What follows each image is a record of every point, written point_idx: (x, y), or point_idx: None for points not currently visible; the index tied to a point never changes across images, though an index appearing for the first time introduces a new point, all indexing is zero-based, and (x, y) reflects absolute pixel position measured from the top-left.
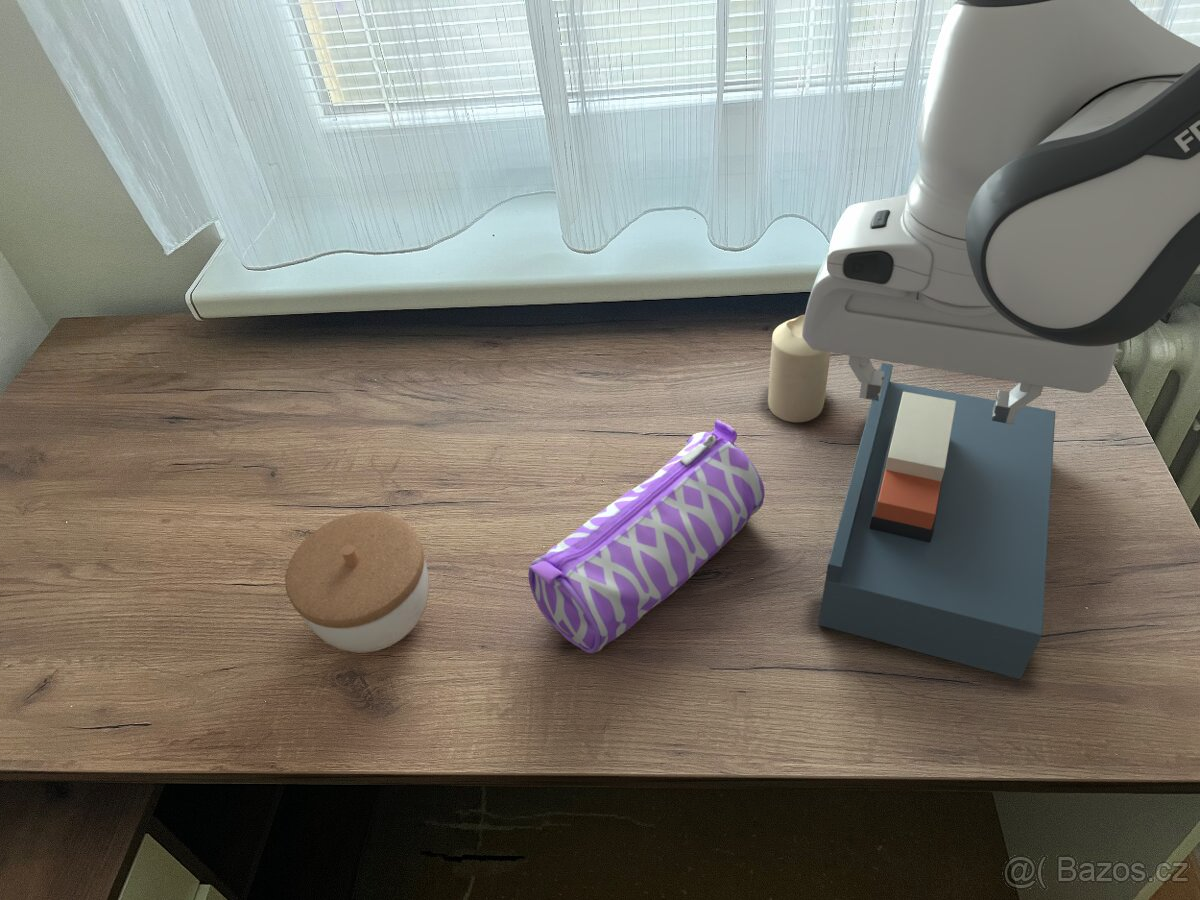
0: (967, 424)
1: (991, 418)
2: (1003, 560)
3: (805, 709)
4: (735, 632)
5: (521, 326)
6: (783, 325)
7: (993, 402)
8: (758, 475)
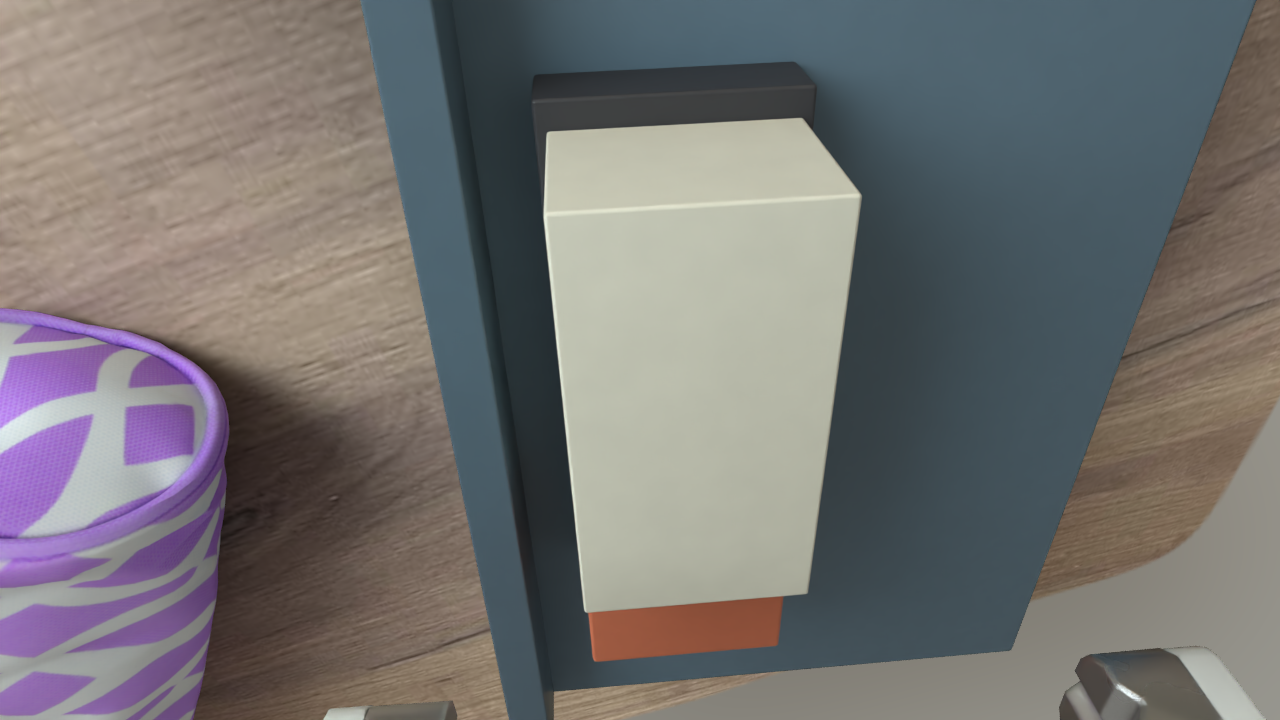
0: None
1: (1063, 699)
2: (955, 524)
3: None
4: (373, 606)
5: None
6: None
7: None
8: (154, 518)
